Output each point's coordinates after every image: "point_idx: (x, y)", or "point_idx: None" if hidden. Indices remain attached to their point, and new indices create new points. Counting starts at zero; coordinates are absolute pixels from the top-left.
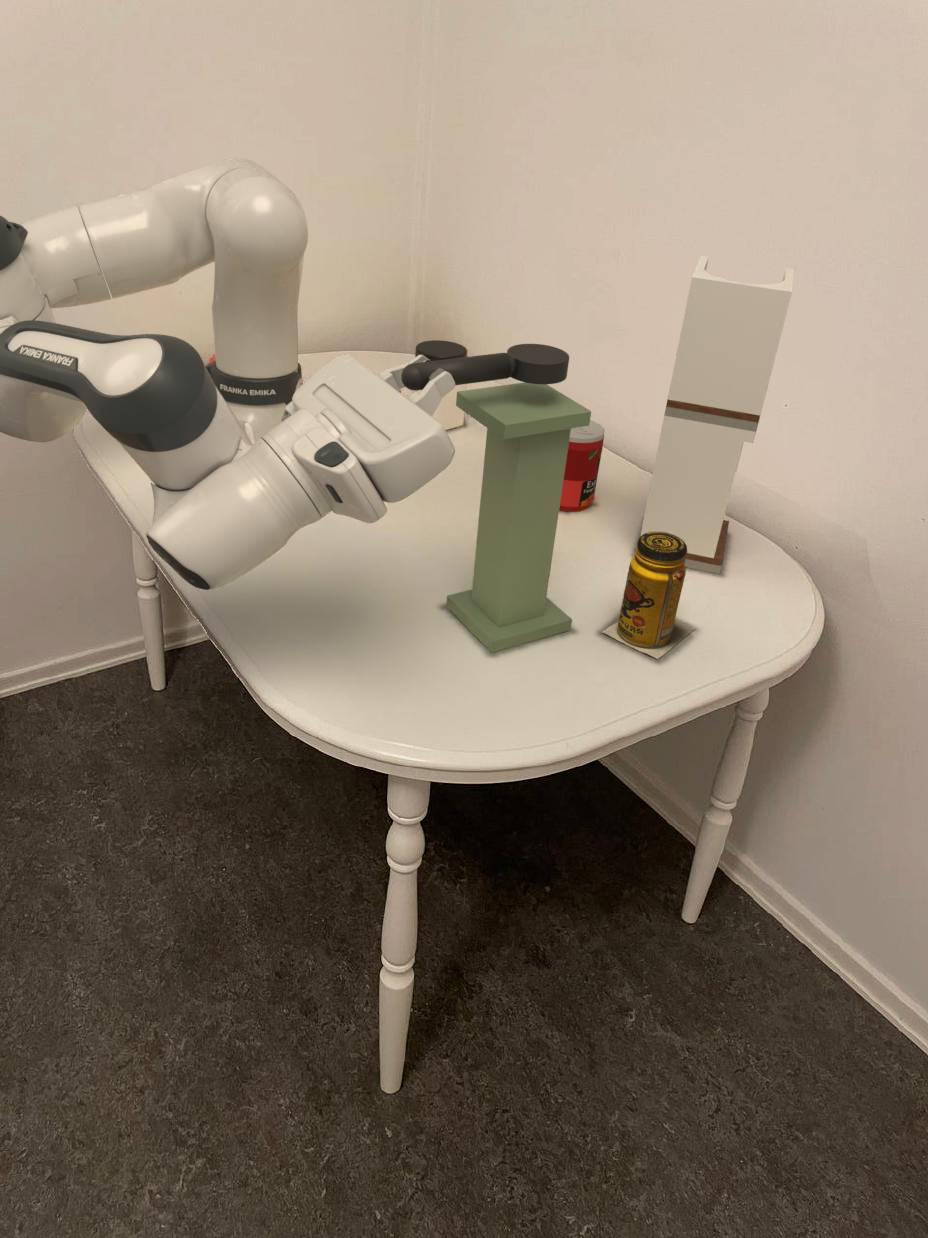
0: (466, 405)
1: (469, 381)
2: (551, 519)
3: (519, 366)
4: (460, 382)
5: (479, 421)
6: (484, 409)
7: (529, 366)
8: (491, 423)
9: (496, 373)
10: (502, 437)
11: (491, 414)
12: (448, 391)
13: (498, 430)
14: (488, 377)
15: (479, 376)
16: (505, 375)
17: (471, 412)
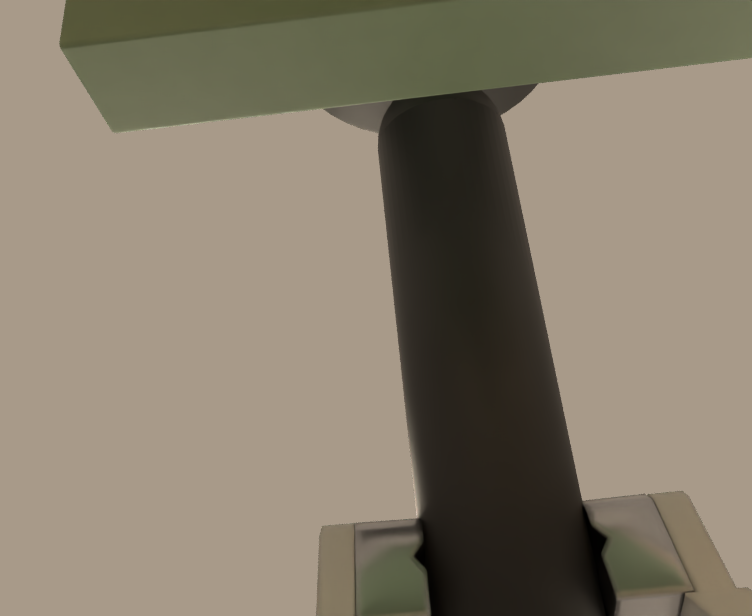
0: (678, 24)
1: (415, 343)
2: None
3: (378, 116)
4: (419, 406)
5: (453, 9)
6: (414, 92)
7: (334, 109)
8: (274, 73)
9: (386, 214)
10: (80, 55)
11: (313, 104)
12: (318, 572)
13: (160, 74)
14: (395, 241)
15: (396, 305)
16: (386, 150)
17: (597, 10)
